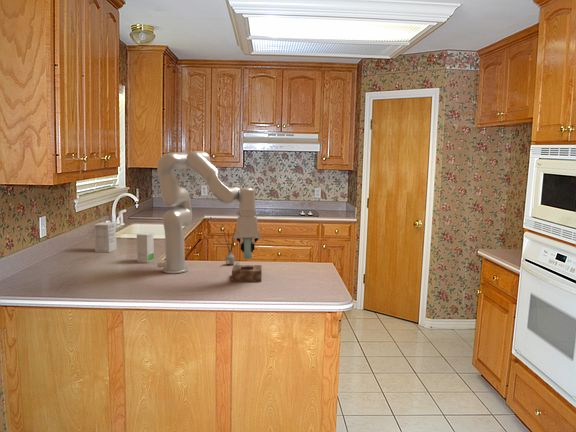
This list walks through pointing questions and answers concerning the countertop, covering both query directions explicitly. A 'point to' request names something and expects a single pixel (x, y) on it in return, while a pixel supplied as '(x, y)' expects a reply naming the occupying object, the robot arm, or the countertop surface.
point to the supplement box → (105, 237)
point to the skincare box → (145, 247)
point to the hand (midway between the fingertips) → (247, 251)
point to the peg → (247, 248)
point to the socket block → (246, 273)
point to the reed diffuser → (230, 253)
